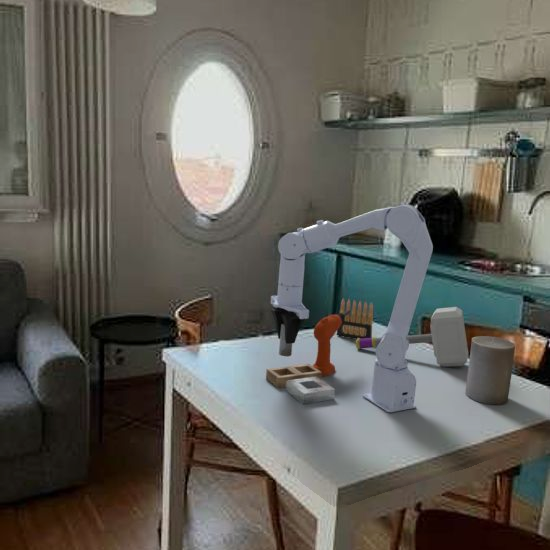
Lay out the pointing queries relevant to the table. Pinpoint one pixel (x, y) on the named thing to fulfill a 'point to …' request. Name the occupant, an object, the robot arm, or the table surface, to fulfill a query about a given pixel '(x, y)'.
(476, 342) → the pillar candle
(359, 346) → the hammer
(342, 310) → the ammunition clip
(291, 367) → the rack
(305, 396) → the socket block
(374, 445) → the table surface
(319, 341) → the toy drill
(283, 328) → the grey metal cylinder
